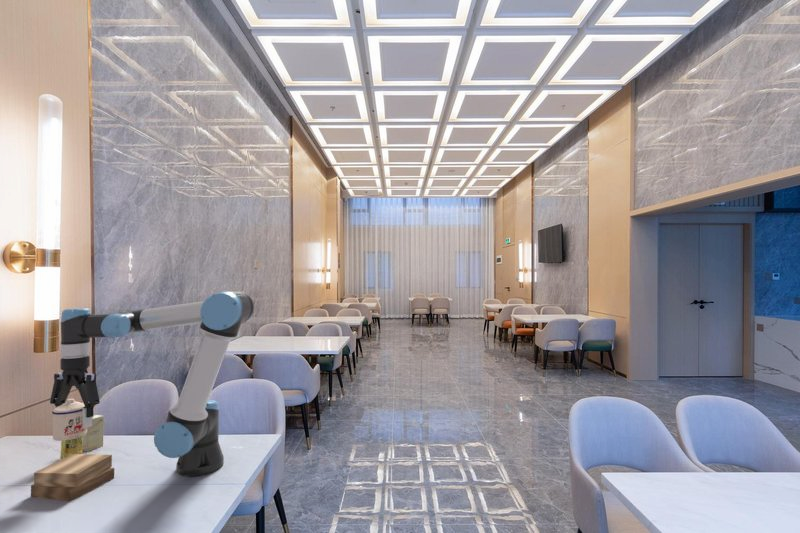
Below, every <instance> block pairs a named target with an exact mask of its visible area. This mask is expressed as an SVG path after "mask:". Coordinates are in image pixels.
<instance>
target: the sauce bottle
mask: <svg viewBox="0 0 800 533" xmlns="http://www.w3.org/2000/svg"><path fill="white" fill-rule="evenodd" d="M82 441H83V436H81V437H78V438H75V439H71V440H64V441H61V442H60V443H61V444H60V457H59V458H60V459H59V460H61V459H63V458H65V457H67V456H69V455H71V454H83V450H82Z"/></svg>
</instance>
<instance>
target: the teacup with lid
mask: <svg viewBox="0 0 800 533" xmlns="http://www.w3.org/2000/svg"><path fill="white" fill-rule="evenodd" d="M66 402H67V403H64V404H62V405H61V406H59V407H56V406H55V408H54V409H52V411H51V413H52V439H53V441H59V442H60V441H64V440H71V439H75V438H78V437H81V436H83V435H85V434H86V433H87V428H85V429H82V414H83V407H85V405H84V403H83V402H80V401H76V400H75V398H67V399H66ZM94 415H95V409H93V416H92V419H93V417H94Z"/></svg>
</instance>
